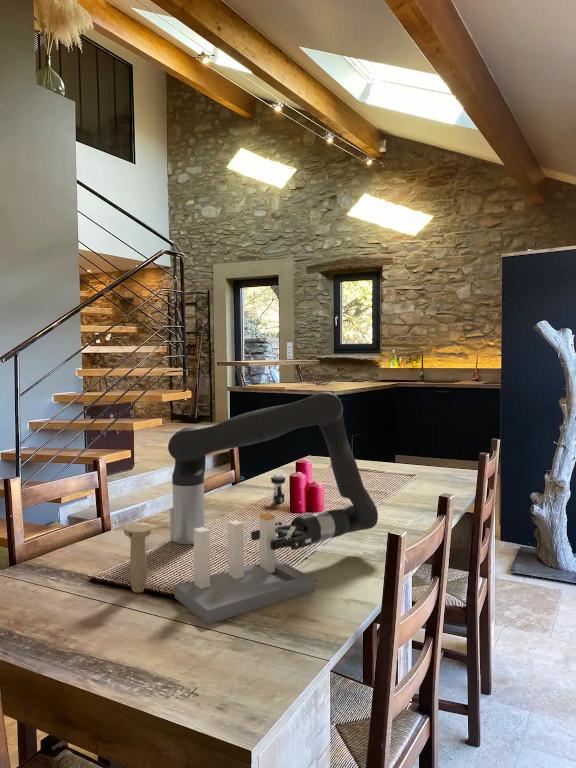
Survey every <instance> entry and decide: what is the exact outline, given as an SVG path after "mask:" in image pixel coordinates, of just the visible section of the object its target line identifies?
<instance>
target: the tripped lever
mask: <svg viewBox="0 0 576 768" xmlns="http://www.w3.org/2000/svg"><path fill="white" fill-rule="evenodd" d="M275 521H276V515H274V514H272V513H270V512H265V513H261V514H259V530H260V539H259V562H260V568H262V569H263V570H265V571H267V572H269V573H273V572H275V558H276V550H272V549H270V542H271V540H275Z"/></svg>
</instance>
